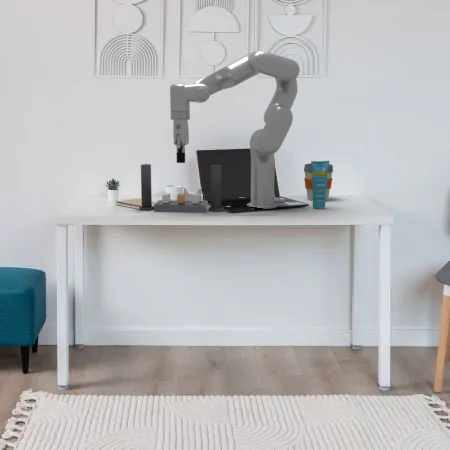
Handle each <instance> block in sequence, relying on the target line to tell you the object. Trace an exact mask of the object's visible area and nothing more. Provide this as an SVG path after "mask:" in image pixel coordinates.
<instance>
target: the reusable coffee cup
mask: <svg viewBox="0 0 450 450" xmlns="http://www.w3.org/2000/svg"><path fill="white" fill-rule="evenodd" d="M303 172H304V187H305V189H306V197H307V201H311V202H313V184H312V166H311V163H306V164H304V167H303ZM333 172H334V166H333V164H331V163H329V168H328V176H327V187H326V200H325V202H326V201H328V200H329V197H330V190H331V189H332V182H333V178H332V176H333Z"/></svg>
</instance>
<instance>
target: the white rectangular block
mask: <svg viewBox="0 0 450 450" xmlns="http://www.w3.org/2000/svg"><path fill="white" fill-rule="evenodd" d="M161 197H162V199H161V200H162V203H169V202H170V200H171V193H170V192H164V193H163V194H162V195H161Z"/></svg>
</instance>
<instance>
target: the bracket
mask: <svg viewBox="0 0 450 450" xmlns="http://www.w3.org/2000/svg"><path fill="white" fill-rule="evenodd" d="M183 193H185V200H191V201H192V195H193V194H200V201H204V200H203V194H202V193H203V192H202V186H199V187H198V190H197V191H195V192H190V191H189V190H188V186H184V187H183Z"/></svg>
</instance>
